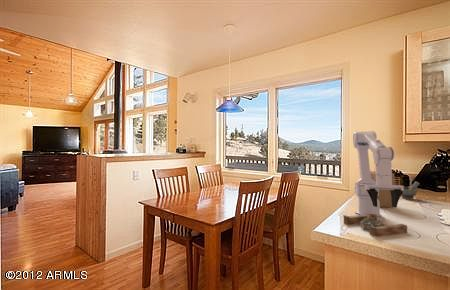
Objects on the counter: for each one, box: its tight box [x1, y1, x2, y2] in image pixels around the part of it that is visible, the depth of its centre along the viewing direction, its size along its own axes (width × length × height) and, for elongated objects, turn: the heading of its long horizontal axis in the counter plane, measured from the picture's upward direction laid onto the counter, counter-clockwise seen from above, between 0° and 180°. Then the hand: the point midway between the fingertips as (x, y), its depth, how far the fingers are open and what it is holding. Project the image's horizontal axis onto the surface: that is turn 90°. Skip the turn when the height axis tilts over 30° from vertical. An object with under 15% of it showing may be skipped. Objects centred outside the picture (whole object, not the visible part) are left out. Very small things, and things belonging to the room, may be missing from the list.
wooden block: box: [370, 170, 395, 208], centre depth 137 cm, size 10×10×20 cm
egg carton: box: [358, 216, 386, 231], centre depth 101 cm, size 11×8×4 cm
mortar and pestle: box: [401, 181, 420, 201], centre depth 152 cm, size 11×9×12 cm
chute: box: [343, 214, 408, 237], centre depth 102 cm, size 17×17×4 cm
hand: (384, 206), depth 98 cm, fingers open, 7 cm apart
